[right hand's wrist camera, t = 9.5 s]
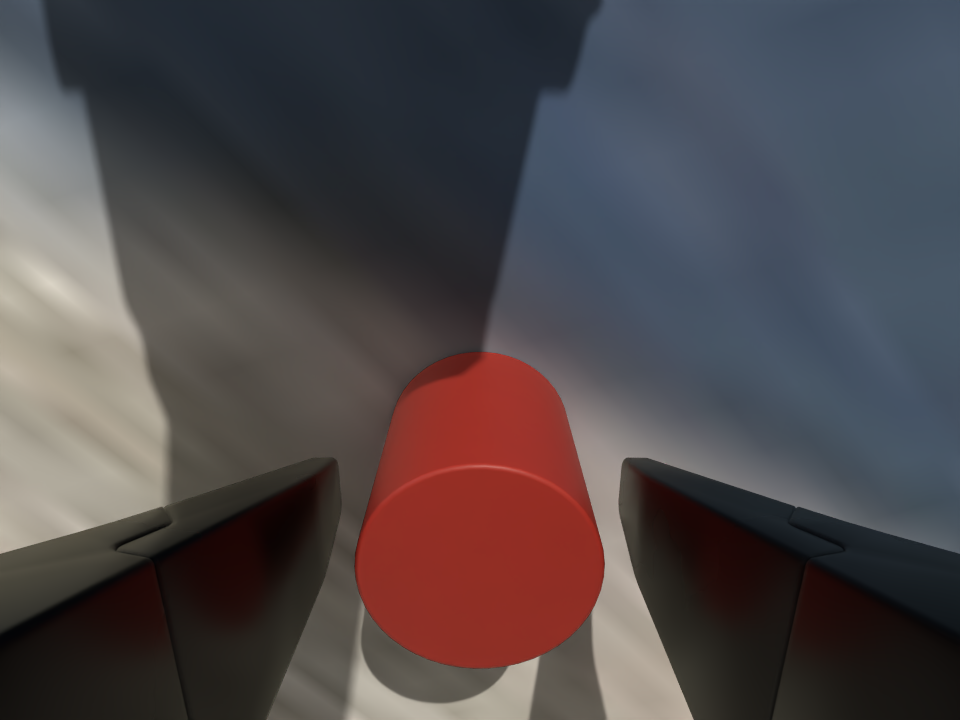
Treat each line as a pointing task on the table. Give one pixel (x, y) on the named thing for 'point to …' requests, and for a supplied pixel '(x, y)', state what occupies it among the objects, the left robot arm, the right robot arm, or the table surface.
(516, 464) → the cylinder
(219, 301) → the table surface
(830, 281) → the table surface
